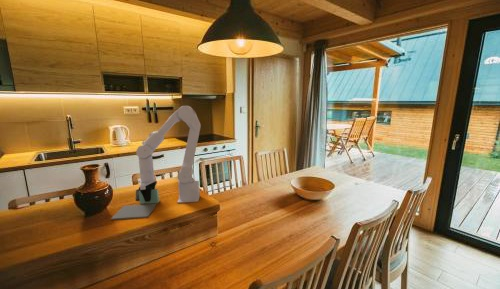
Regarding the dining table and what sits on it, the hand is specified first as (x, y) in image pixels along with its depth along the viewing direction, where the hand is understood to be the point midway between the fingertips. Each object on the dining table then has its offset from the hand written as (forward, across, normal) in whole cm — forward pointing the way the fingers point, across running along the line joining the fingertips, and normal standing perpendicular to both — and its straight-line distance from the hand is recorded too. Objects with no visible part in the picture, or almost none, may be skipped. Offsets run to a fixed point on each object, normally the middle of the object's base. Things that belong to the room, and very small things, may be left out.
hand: (149, 199), depth 107 cm
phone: (+2, -11, -6) cm, 13 cm away
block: (+2, 0, 0) cm, 2 cm away
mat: (+2, +10, -3) cm, 10 cm away
